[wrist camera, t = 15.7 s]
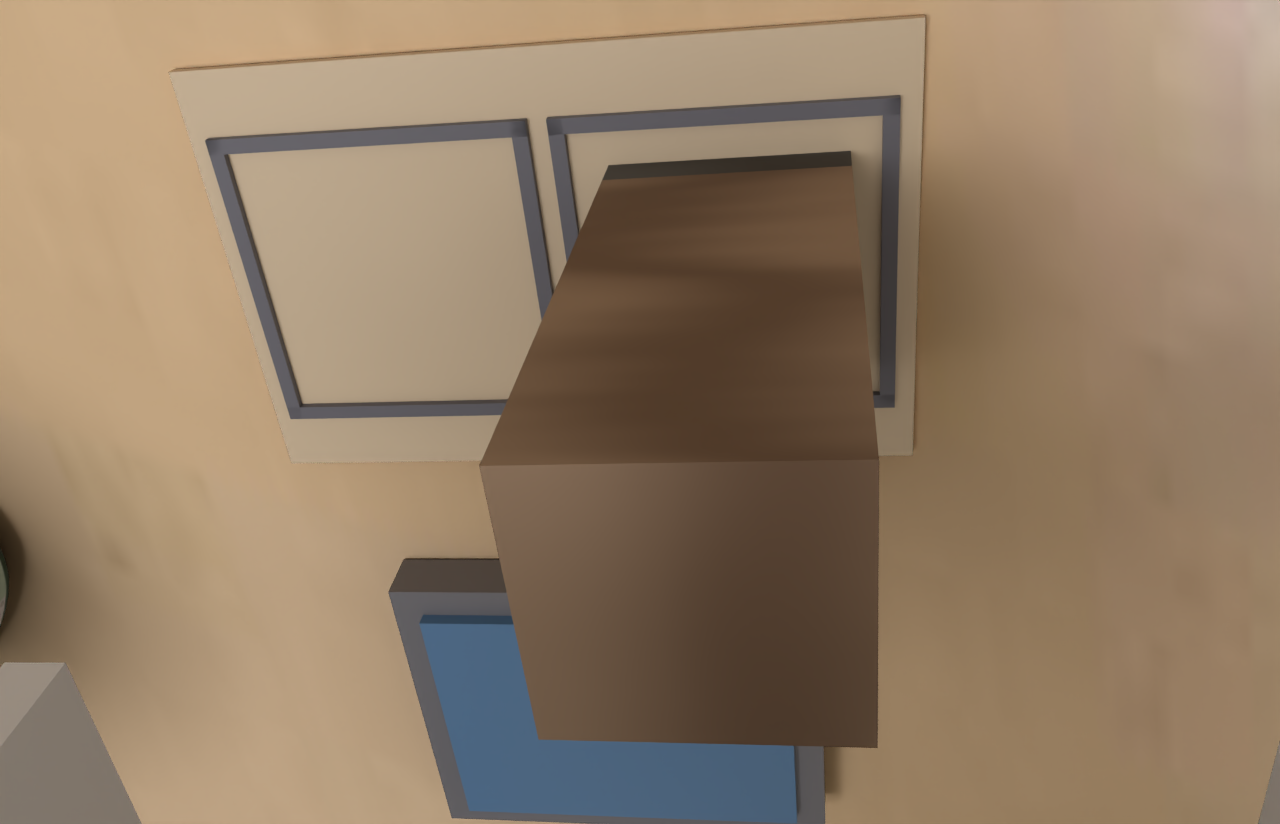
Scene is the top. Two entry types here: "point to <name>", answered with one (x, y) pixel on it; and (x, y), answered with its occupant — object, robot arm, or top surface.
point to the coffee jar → (3, 586)
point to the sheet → (517, 205)
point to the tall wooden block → (698, 465)
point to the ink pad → (564, 769)
